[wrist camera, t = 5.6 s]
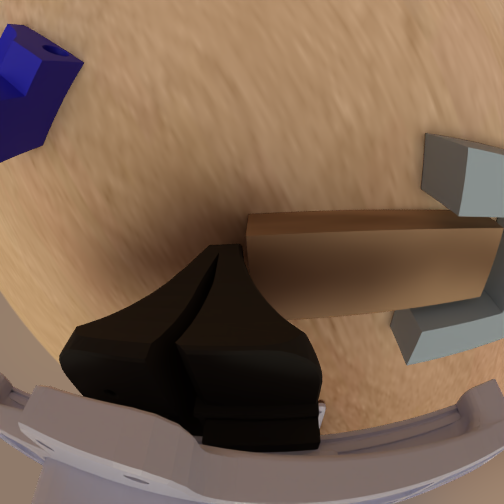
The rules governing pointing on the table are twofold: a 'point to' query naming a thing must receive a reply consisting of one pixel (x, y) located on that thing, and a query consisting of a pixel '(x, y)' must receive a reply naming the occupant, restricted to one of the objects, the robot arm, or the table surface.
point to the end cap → (500, 277)
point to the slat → (368, 259)
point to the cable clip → (30, 87)
